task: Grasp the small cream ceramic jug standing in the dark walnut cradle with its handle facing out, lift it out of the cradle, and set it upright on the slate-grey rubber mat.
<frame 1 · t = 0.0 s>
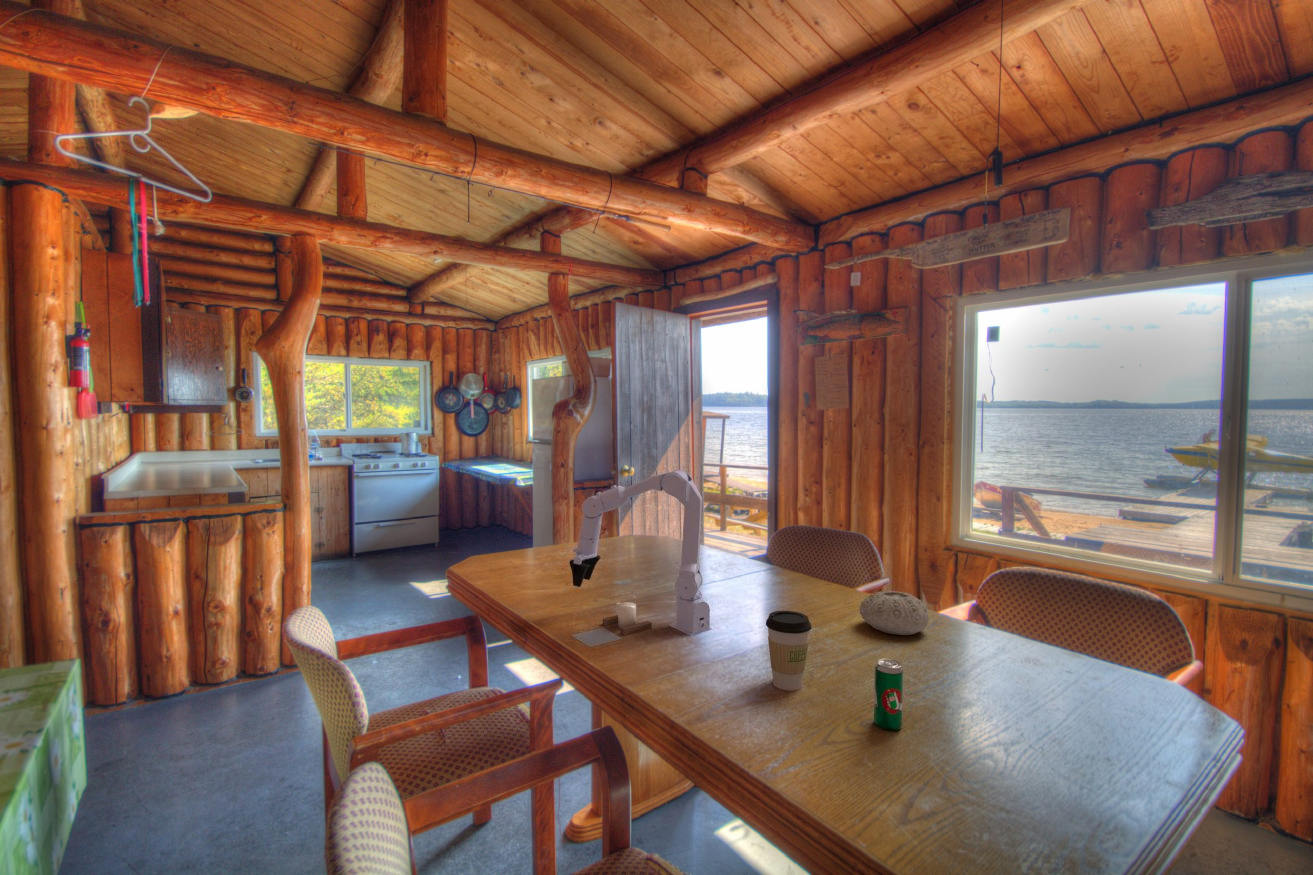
hand: (581, 582, 173), 11 cm above the table, tool pointing down, fingers open, 7 cm apart
cream jug: (627, 626, 165), resting on walnut cradle
walnut cradle: (626, 627, 165), on the table
decorative shell: (893, 629, 166), on the table
grey mat: (596, 638, 157), on the table
coffee cup: (787, 685, 131), on the table
soda can: (887, 726, 113), on the table
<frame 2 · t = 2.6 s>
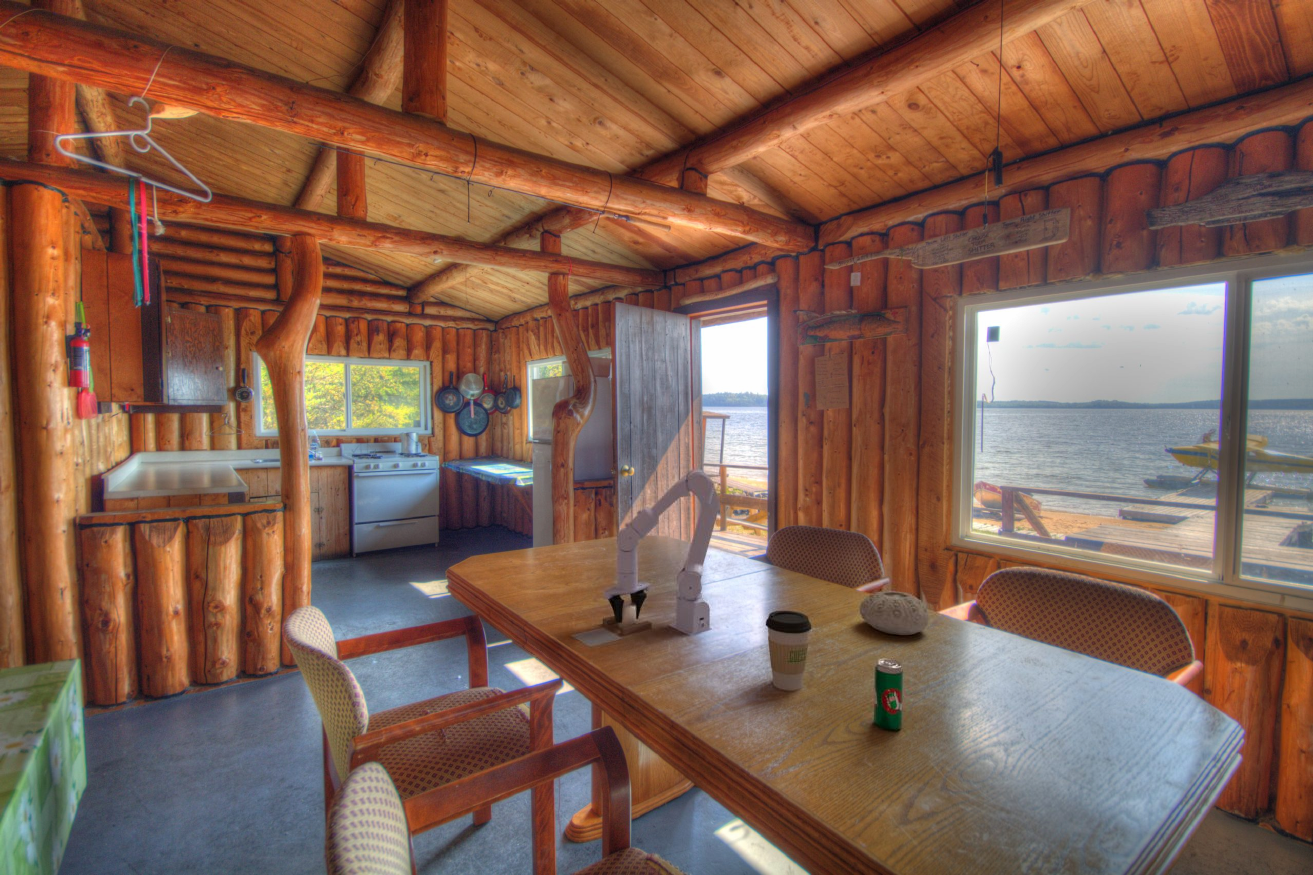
hand: (627, 619, 165), 2 cm above the table, tool pointing down, fingers closed on cream jug, 5 cm apart
cream jug: (626, 626, 165), resting on walnut cradle, touching gripper
everything else where it was.
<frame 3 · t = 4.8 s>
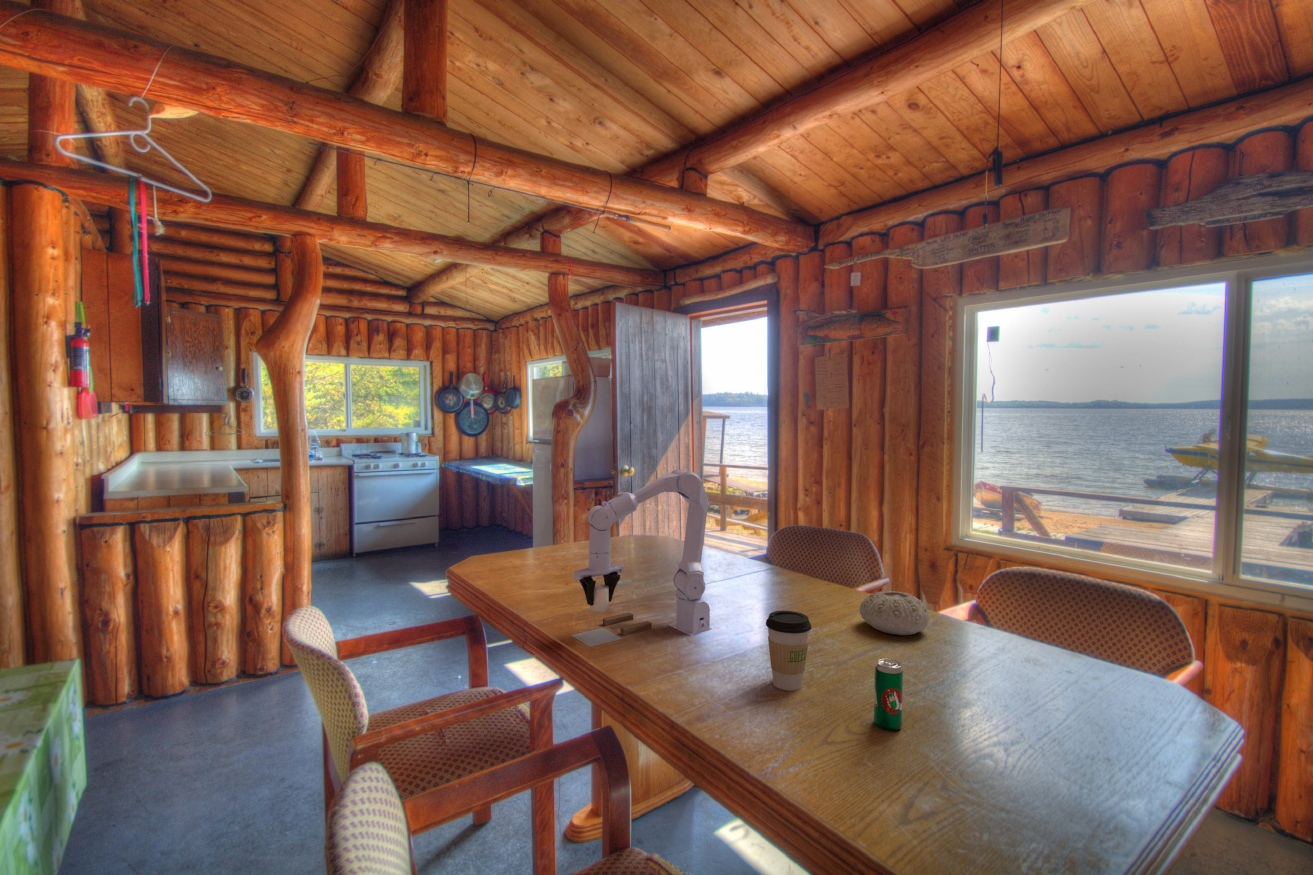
hand: (599, 602, 158), 9 cm above the table, tool pointing down, fingers closed on cream jug, 5 cm apart
cream jug: (599, 609, 158), point 8 cm above the table, touching gripper
everything else where it was.
when the fingers open (3 cm above the table, at t = 6.9 s): cream jug drops 1 cm, resting on grey mat.
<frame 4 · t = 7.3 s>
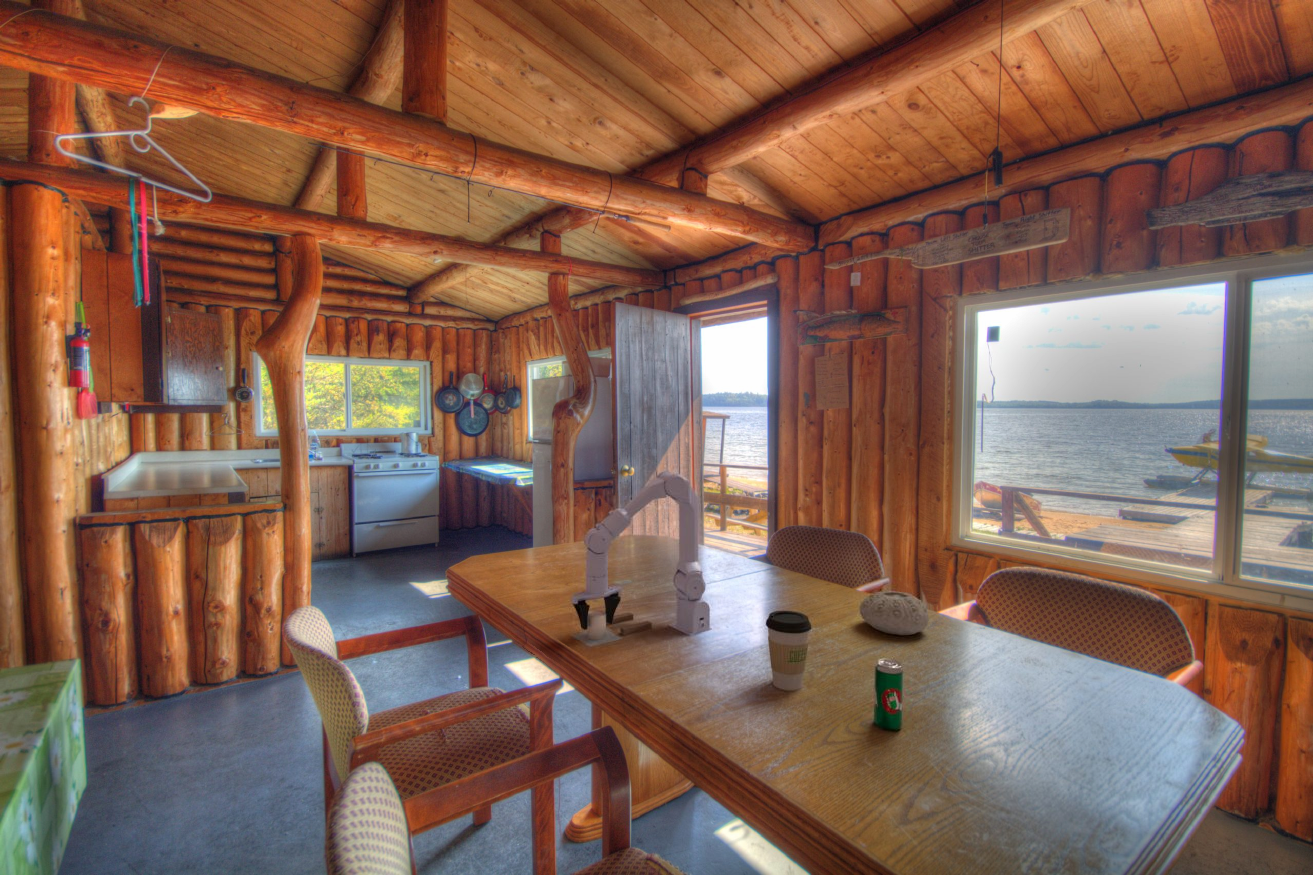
hand: (596, 625, 157), 3 cm above the table, tool pointing down, fingers open, 7 cm apart
cream jug: (596, 636, 157), resting on grey mat
everything else where it was.
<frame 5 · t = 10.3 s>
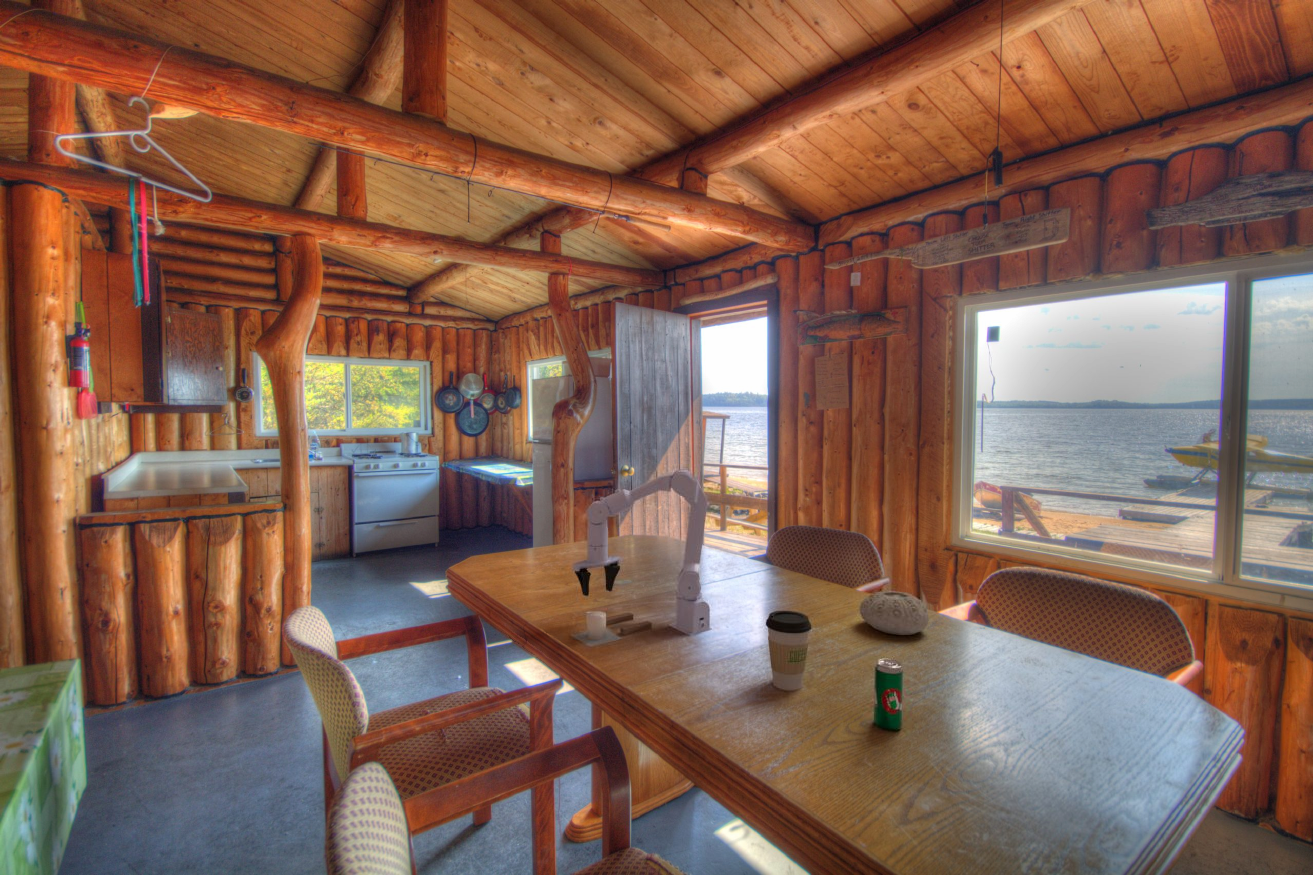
hand: (597, 592, 166), 9 cm above the table, tool pointing down, fingers open, 7 cm apart
nothing on the table moved.
at the end: cream jug 0.1 cm off-centre on the grey mat, point 0.4 cm above the grey mat's base; cream jug tilted 0°; the gripper is holding nothing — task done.
